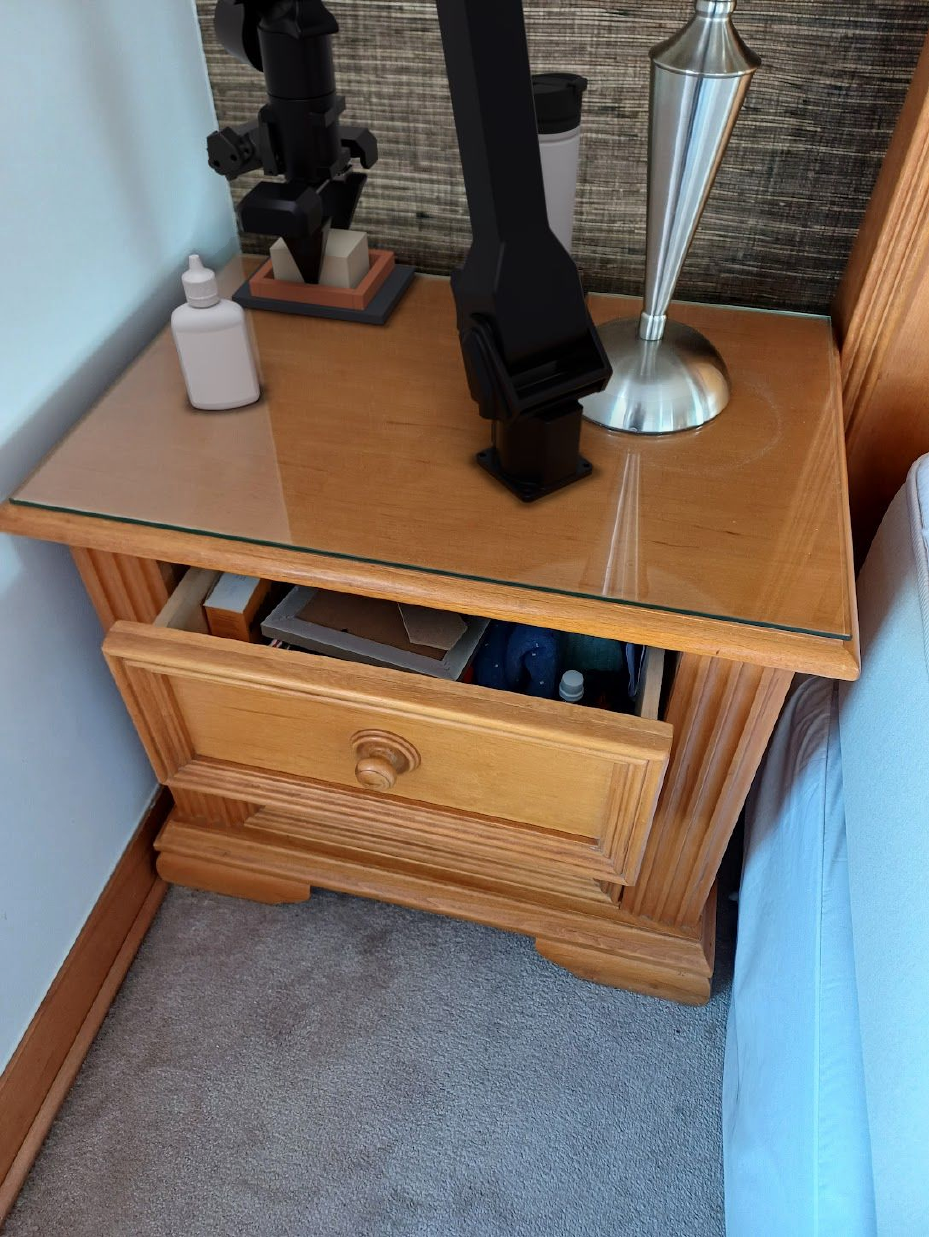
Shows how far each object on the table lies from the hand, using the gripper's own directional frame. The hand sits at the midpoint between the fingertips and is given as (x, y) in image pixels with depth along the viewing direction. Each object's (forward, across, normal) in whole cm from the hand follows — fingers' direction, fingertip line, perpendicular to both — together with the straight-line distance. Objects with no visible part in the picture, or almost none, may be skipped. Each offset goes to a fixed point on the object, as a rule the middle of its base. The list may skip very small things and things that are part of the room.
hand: (323, 271), depth 86 cm
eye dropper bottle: (+2, +20, -1) cm, 20 cm away
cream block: (+1, 0, 0) cm, 1 cm away
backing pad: (+2, 0, 0) cm, 2 cm away
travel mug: (+2, 0, +20) cm, 21 cm away
